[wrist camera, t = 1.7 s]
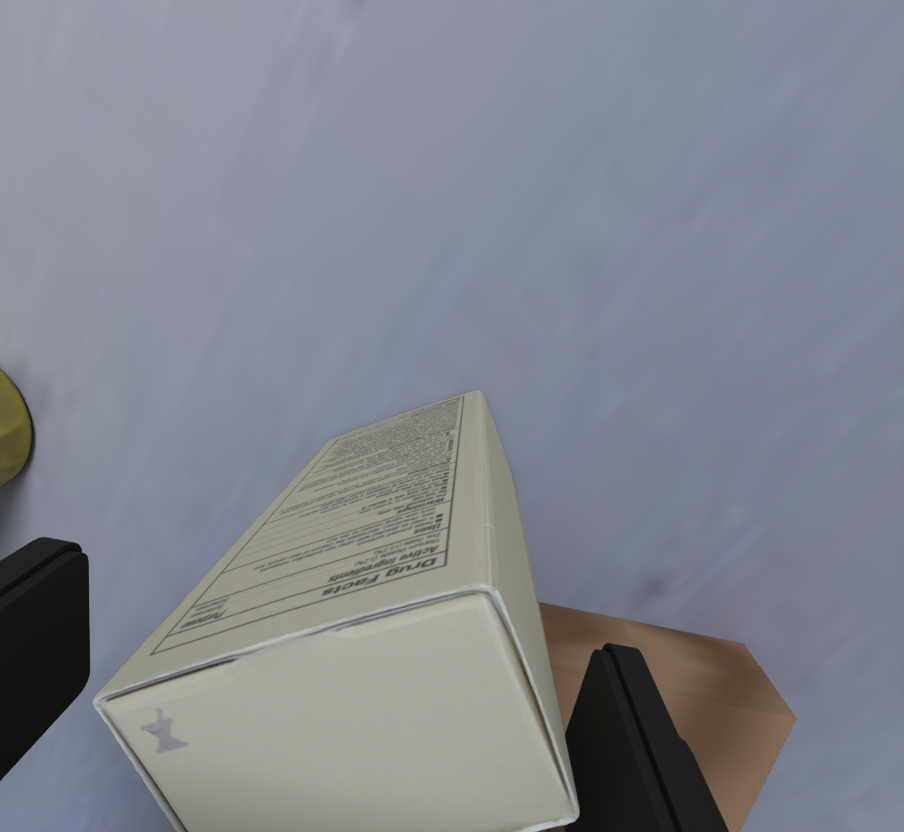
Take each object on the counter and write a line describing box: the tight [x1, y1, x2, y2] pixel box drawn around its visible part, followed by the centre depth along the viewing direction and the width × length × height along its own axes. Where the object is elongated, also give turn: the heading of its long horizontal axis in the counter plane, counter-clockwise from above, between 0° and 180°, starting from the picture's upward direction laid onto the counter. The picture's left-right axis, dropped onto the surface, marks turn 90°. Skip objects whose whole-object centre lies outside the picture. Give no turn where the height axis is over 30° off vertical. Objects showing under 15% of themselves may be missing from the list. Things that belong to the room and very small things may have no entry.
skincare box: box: [92, 390, 579, 832], centre depth 13 cm, size 6×4×12 cm
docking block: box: [538, 602, 796, 832], centre depth 21 cm, size 18×18×4 cm
